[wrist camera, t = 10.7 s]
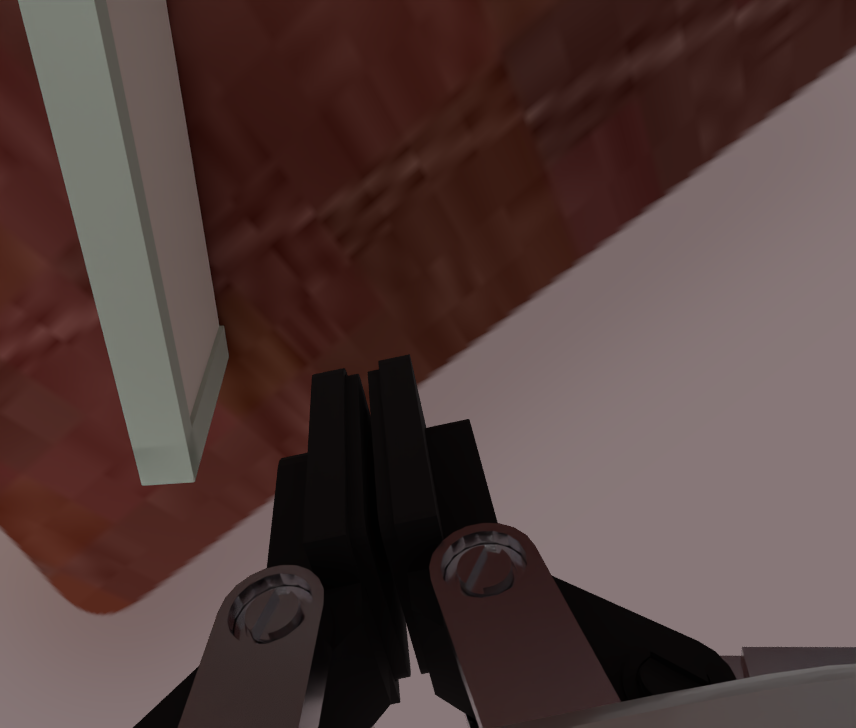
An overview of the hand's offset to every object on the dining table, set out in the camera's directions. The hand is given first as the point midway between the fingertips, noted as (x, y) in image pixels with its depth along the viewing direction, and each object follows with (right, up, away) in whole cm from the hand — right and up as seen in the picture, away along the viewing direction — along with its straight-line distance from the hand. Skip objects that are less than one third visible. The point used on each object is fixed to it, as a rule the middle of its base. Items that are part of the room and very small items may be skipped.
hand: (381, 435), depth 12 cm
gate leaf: (-9, +10, +16) cm, 21 cm away
